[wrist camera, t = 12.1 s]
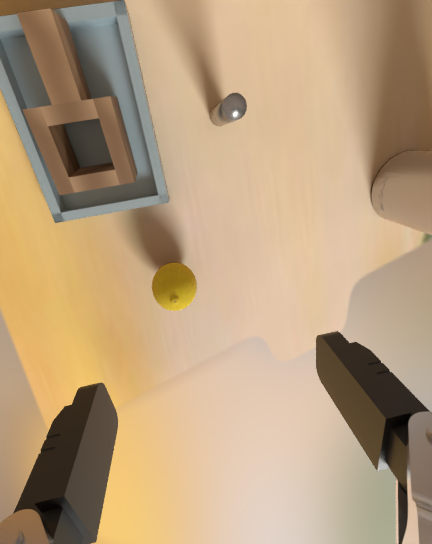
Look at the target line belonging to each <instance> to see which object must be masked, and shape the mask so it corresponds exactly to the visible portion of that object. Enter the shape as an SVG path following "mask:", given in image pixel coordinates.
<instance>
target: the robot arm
mask: <svg viewBox="0 0 432 544" xmlns="http://www.w3.org/2000/svg"><path fill="white" fill-rule="evenodd" d="M371 194H372V204H373V207H374V209H375V211H376V212H377V213H378V215H379V216H381V217H383V218H384V219H387V220H390V221H393V222H396V223H399V224H401V225H404V226H407V227H410V228H412V229H415V230H418V231H421V232H424V233H427V234H430V235H432V151H406V152H403V153H400V154H398V155H396V156H395V157H393V158H392V159H390V160H389V161H388V162H387V163H386V164H385V165H384V166H383V167H382V169H381V170H380V171H379V173H378V175H377V177H376V178H375V181H374V184H373V188H372V193H371ZM316 368H317V373H318V376H319V378H320V380H321V383H322V384H323V385H324V387H325V389H326V390H327V392H328V394H329V395H330V397H331V398H332V400H333V402H334V403H335V405H336V406H337V408H338V410H339V411H340V413H341V414H342V416H343V417H344V419H345V421H346V422H347V424H348V425H349V427H350V429H351V430H352V432H353V433H354V435H355V436H356V438H357V439H358V441H359V443H360V444H361V446H362V447H363V449H364V451H365V452H366V454H367V456H368V457H369V459H370V460H371V462H372V463H373V465H374V466H375V468H376V470H377V471H380V470H383V469H388V468H390V469H391V471H392V472H393V474H394V475H395V477H396V544H432V412H430V411H429V410H428V409H427V408H426V407H425V406H424V405H423V404H422V403H421V402H420V401H419V400H418V399H417V398H416V397H415V396H414V395H413V394H412V393H411V392H410V391H409V390H408V389H407V388H406V387H405V386H404V385H403V384H402V382H400V380H399V379H398V378H397V377H396V376H395V375H394V374H393V373H392V372H390V371H389V369H388V368H387V367H386V366H385V365H384V364H383V363H381V361H380V360H379V359H378V358H377V357H376V356H375V355H374V354H373V353H372V352H371V351H370V350H369V349H367V348H366V347H364V346H362V345H360V344H359V343H357V342H354V343H349V342H348V341H347V340H346V339H345V338H344V337H343V335H342V334H341V333H339V332H338V331H336V332H332V333H327V334H322V335H318V336H317V338H316ZM117 428H118V418H117V413H116V410H115V407H114V405H113V403H112V401H111V398H110V396H109V394H108V392H107V389H106V387H105V385H104V384H103V383H97V384H93V385H88V386H84V387H80V388H79V389H78V390H77V393H76V395H75V398H74V400H73V403H72V405H69V406H65V407H64V408H63V409H62V411H61V412H60V413H59V414H58V416H57V417H56V418H55V419H54V421H53V422H52V425H51V427H50V429H49V432H48V434H47V439H46V440H45V441H44V444H43V446H42V448H41V453H40V454H39V455H38V458H37V460H36V462H35V465H34V467H33V469H32V472H31V474H30V476H29V479H28V481H27V483H26V486H25V488H24V490H23V493H22V495H21V497H20V500H19V502H18V504H17V507H16V509H15V511H14V513H13V514H12V515H10V516H8V517H7V518H6V519H4V520H3V521H2V522H1V523H0V544H91V543H94V542H96V540H97V534H98V529H99V524H100V518H101V513H102V508H103V503H104V497H105V492H106V487H107V481H108V476H109V471H110V466H111V460H112V455H113V450H114V445H115V439H116V434H117Z"/></svg>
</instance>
